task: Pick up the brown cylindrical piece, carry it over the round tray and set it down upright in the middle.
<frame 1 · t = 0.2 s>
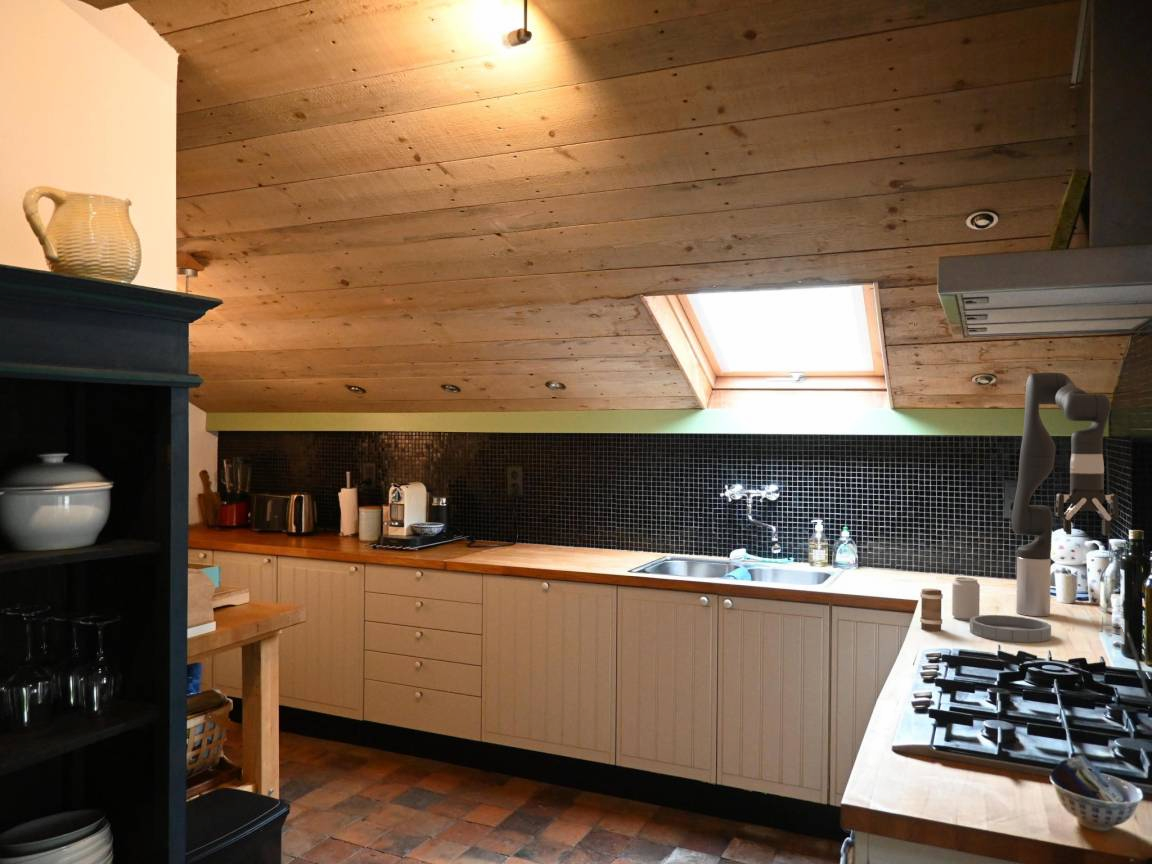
hand: (1086, 534, 232), 29 cm above the worktop, tool pointing down, fingers open, 8 cm apart
round tray: (1009, 634, 248), on the worktop
brown cylindrical piece: (931, 629, 254), on the worktop
wide mouth jar: (965, 619, 269), on the worktop
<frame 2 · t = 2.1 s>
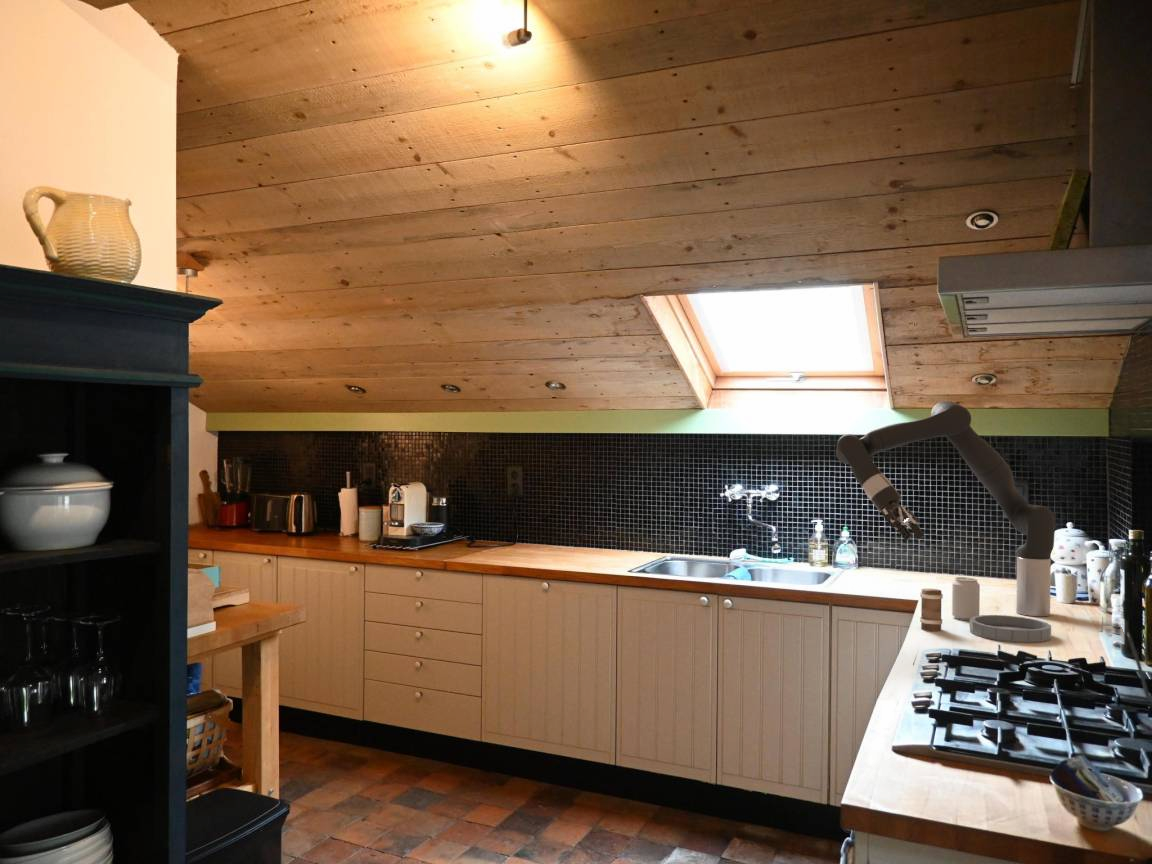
hand: (915, 537, 257), 25 cm above the worktop, tool tilted 40°, fingers open, 8 cm apart
nothing on the worktop moved.
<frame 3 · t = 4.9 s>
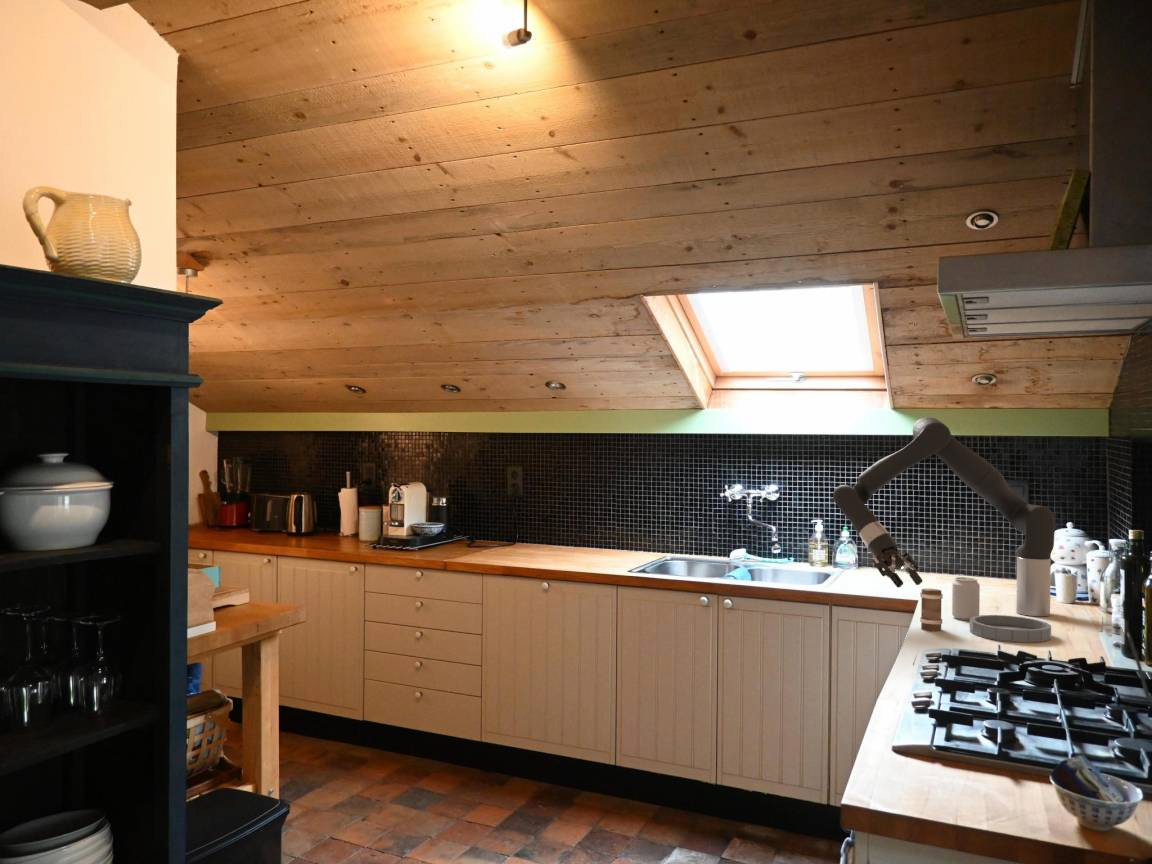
hand: (910, 584, 259), 12 cm above the worktop, tool tilted 45°, fingers open, 8 cm apart
nothing on the worktop moved.
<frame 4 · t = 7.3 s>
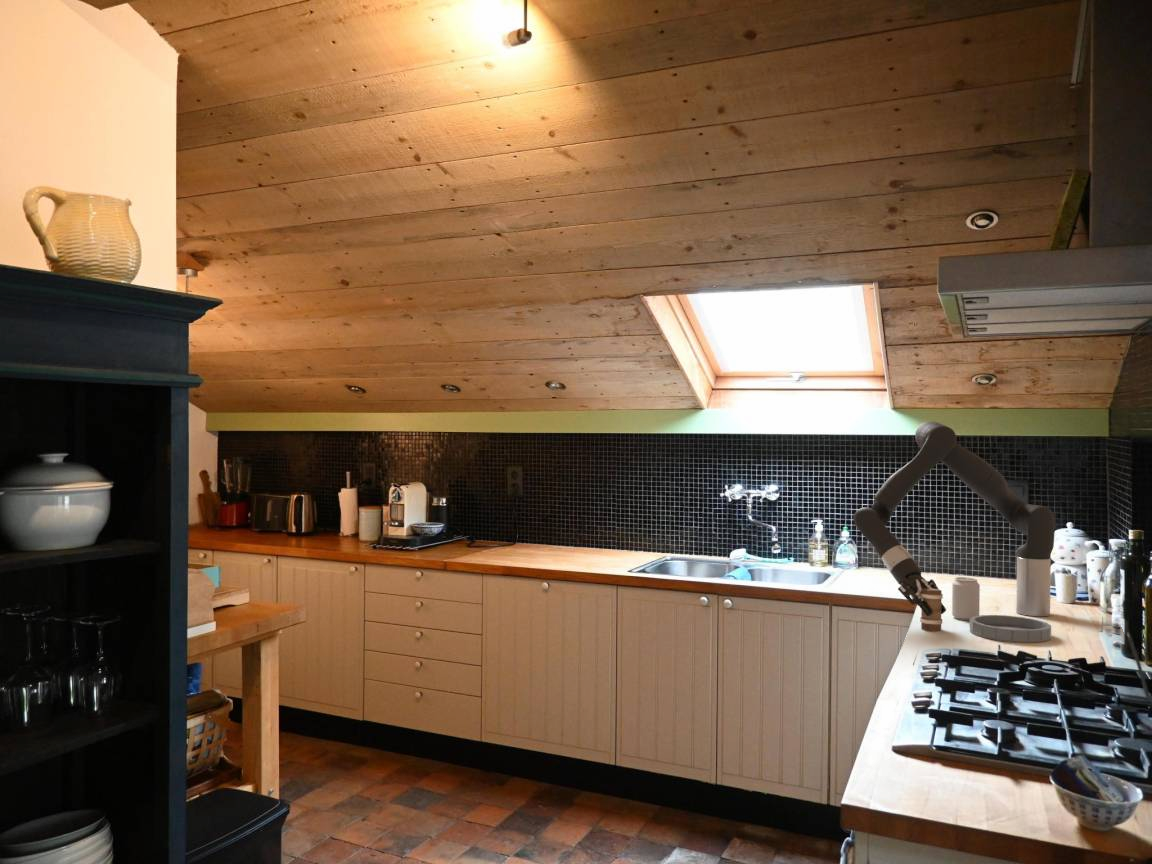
hand: (937, 613, 252), 5 cm above the worktop, tool tilted 45°, fingers closed on brown cylindrical piece, 5 cm apart
brown cylindrical piece: (931, 629, 254), on the worktop, touching gripper
everything else where it was.
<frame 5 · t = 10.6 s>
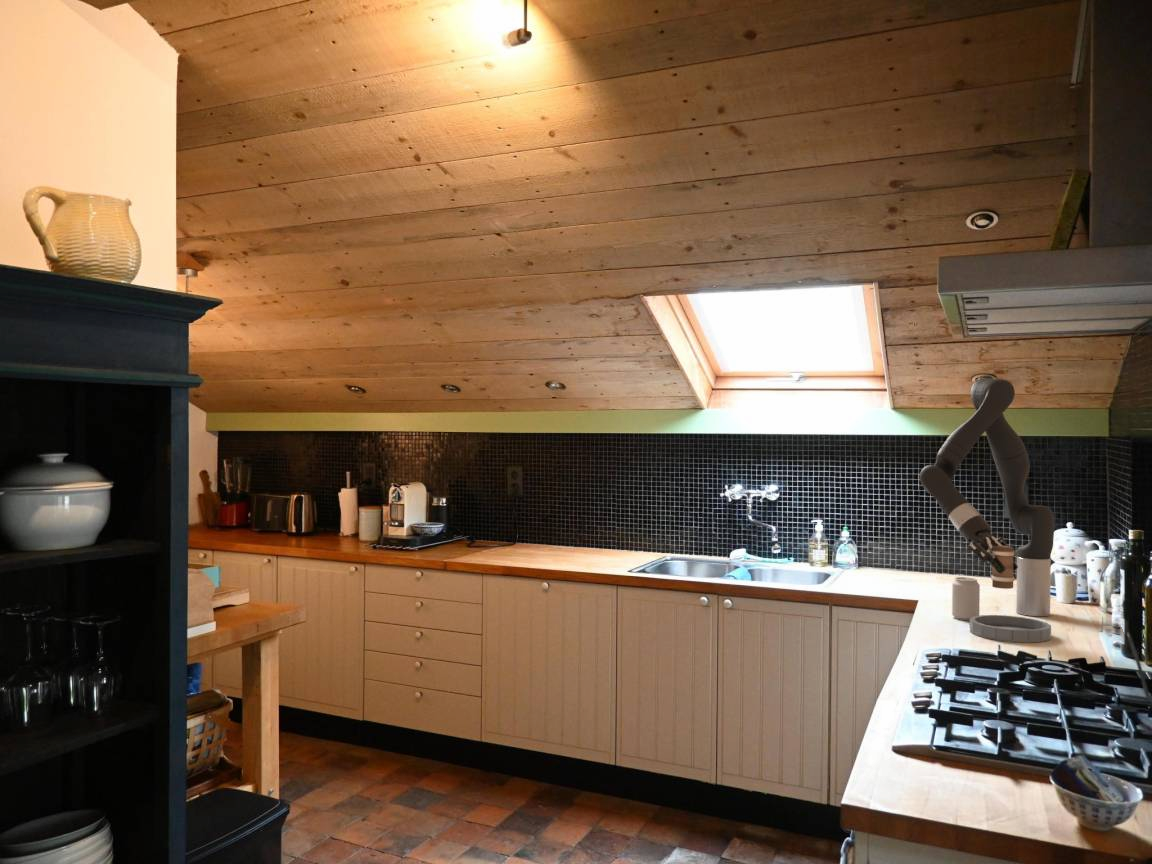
hand: (1009, 570, 247), 18 cm above the worktop, tool tilted 45°, fingers closed on brown cylindrical piece, 5 cm apart
brown cylindrical piece: (1002, 586, 249), point 13 cm above the worktop, touching gripper
everything else where it was.
when the fingers open (7 cm above the worktop, at t = 13.8 s): brown cylindrical piece drops 1 cm, resting on round tray.
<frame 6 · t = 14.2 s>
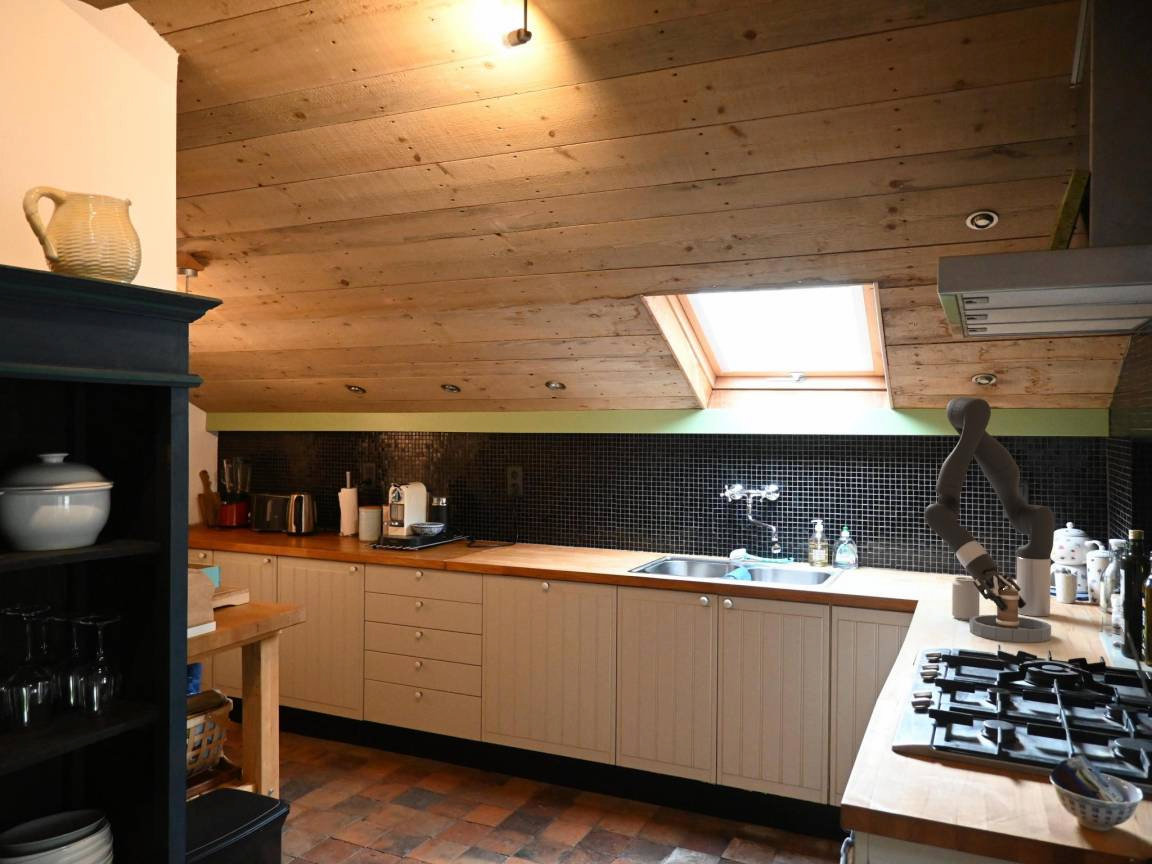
hand: (1014, 608, 247), 7 cm above the worktop, tool tilted 45°, fingers open, 8 cm apart
brown cylindrical piece: (1007, 630, 248), point 1 cm above the worktop, touching round tray
everything else where it was.
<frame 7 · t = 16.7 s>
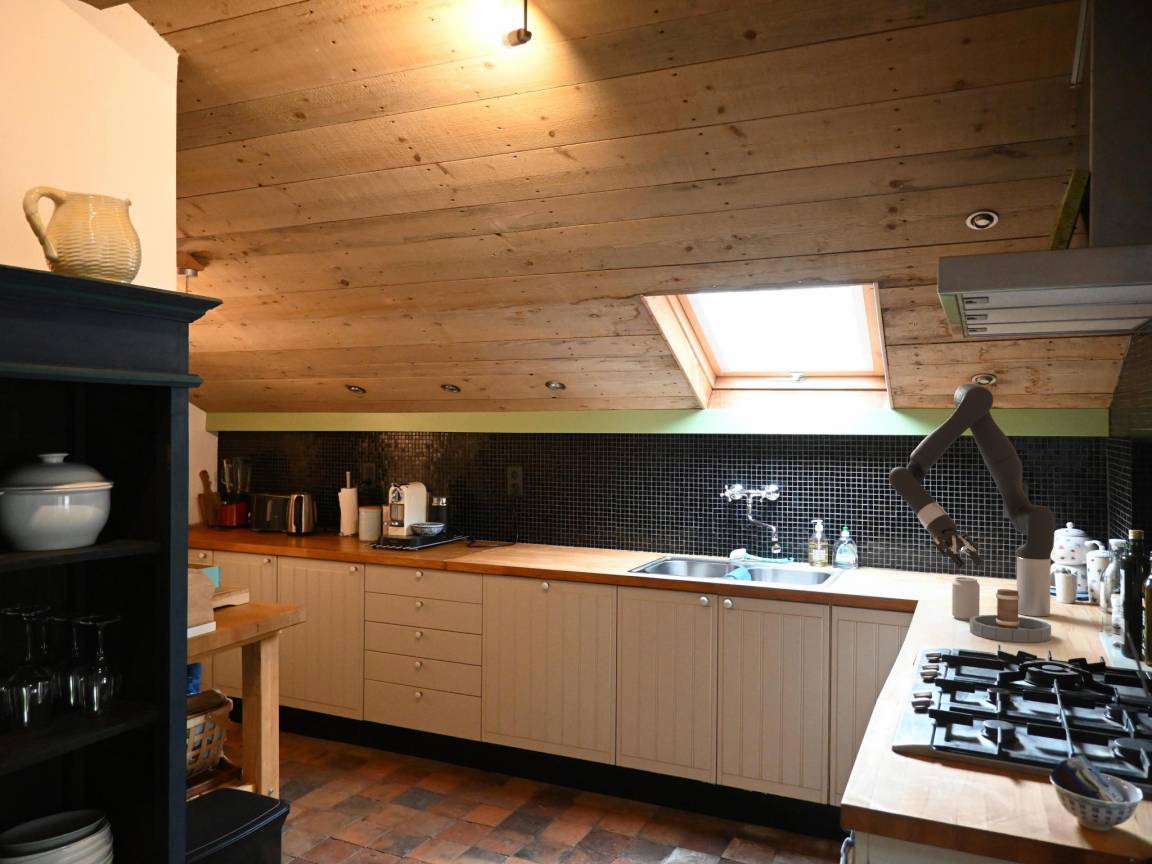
hand: (971, 565, 257), 17 cm above the worktop, tool tilted 45°, fingers open, 8 cm apart
nothing on the worktop moved.
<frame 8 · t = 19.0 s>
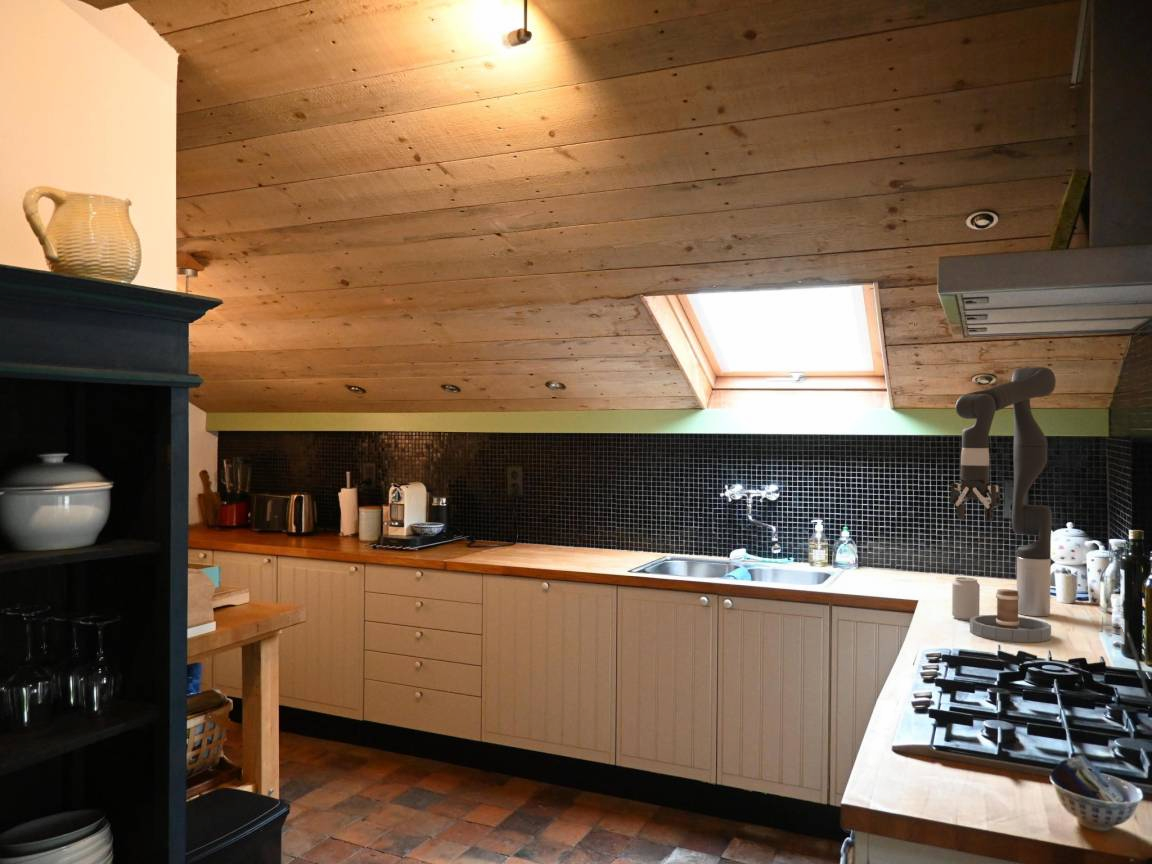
hand: (974, 520, 259), 30 cm above the worktop, tool pointing down, fingers open, 8 cm apart
nothing on the worktop moved.
at the end: brown cylindrical piece inside the target area on the round tray (0.5 cm from its centre), point 0.9 cm above the round tray's base; brown cylindrical piece tilted 0°; the gripper is holding nothing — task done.
